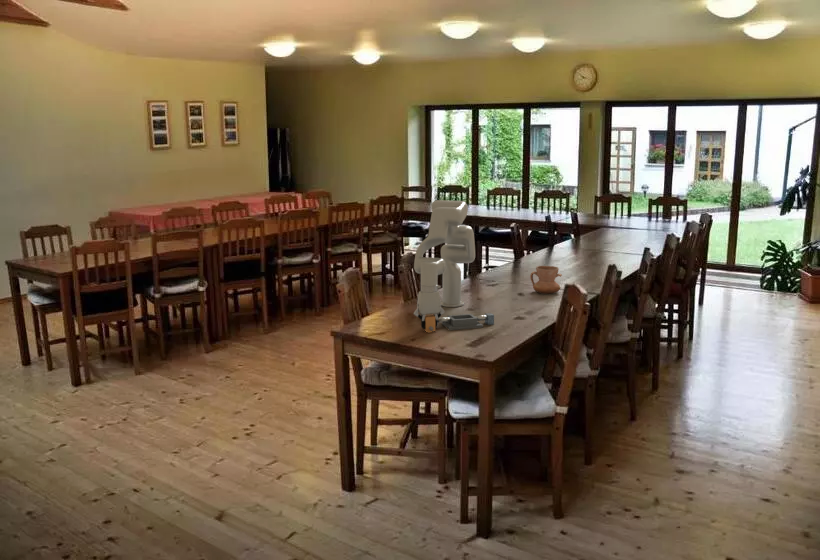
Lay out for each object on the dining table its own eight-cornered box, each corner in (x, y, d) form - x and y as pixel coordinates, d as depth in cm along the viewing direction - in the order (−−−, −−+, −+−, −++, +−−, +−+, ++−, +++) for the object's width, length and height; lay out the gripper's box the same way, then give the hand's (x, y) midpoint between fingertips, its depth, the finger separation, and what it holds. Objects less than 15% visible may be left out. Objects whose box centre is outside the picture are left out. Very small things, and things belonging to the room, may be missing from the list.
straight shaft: (475, 325, 327) (475, 316, 326) (472, 323, 331) (472, 314, 330) (493, 324, 330) (494, 315, 329) (490, 322, 333) (490, 312, 333)
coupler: (426, 333, 316) (426, 318, 314) (422, 329, 323) (422, 314, 321) (436, 332, 317) (436, 317, 315) (431, 328, 324) (431, 313, 323)
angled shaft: (450, 325, 328) (450, 316, 327) (449, 327, 325) (449, 318, 324) (431, 324, 330) (431, 315, 329) (430, 327, 326) (430, 317, 325)
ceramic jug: (565, 291, 394) (566, 266, 391) (556, 297, 382) (557, 271, 379) (535, 288, 403) (536, 263, 400) (525, 293, 391) (525, 267, 388)
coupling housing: (442, 324, 331) (442, 315, 330) (474, 321, 335) (474, 312, 334) (449, 330, 321) (449, 321, 320) (482, 327, 325) (482, 318, 324)
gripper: (444, 285, 321) (444, 324, 325) (408, 288, 317) (409, 327, 321) (449, 289, 314) (449, 329, 318) (413, 291, 310) (413, 332, 314)
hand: (429, 327), depth 320 cm, fingers closed on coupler, 4 cm apart
